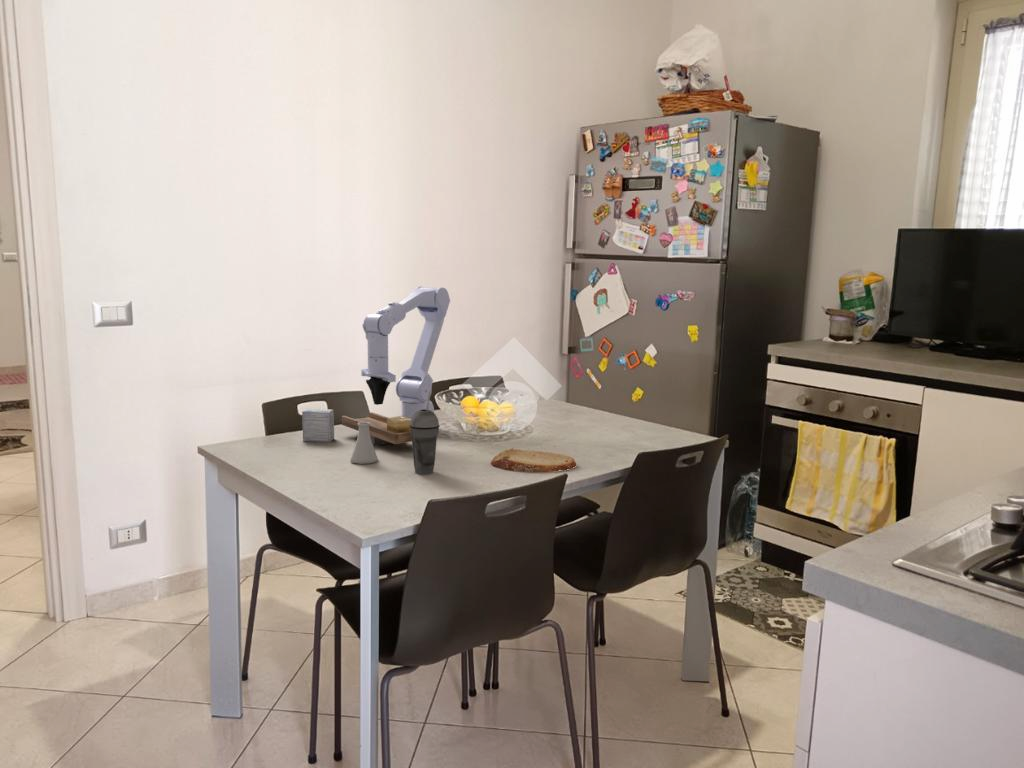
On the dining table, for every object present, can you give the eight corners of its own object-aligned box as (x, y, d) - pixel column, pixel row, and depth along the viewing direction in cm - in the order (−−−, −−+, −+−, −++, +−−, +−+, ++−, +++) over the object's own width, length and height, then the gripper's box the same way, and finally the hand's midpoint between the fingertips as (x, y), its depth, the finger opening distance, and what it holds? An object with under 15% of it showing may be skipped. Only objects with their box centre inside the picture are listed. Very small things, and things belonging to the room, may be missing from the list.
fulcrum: (394, 440, 229) (394, 430, 229) (398, 441, 228) (398, 431, 227) (370, 444, 224) (370, 434, 223) (374, 445, 222) (374, 435, 222)
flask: (347, 464, 202) (346, 425, 200) (353, 457, 209) (352, 419, 207) (375, 465, 202) (375, 426, 200) (380, 458, 209) (380, 420, 207)
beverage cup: (409, 468, 199) (409, 388, 196) (439, 468, 200) (439, 389, 197) (408, 476, 192) (408, 394, 189) (439, 476, 193) (439, 394, 190)
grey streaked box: (334, 439, 229) (334, 409, 228) (329, 442, 225) (329, 412, 224) (307, 437, 230) (307, 408, 229) (302, 441, 226) (301, 411, 224)
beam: (371, 420, 239) (371, 412, 239) (426, 439, 219) (426, 429, 218) (341, 424, 233) (341, 416, 233) (395, 444, 212) (395, 434, 212)
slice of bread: (583, 468, 204) (583, 454, 204) (531, 480, 192) (532, 465, 192) (534, 454, 217) (534, 441, 217) (483, 464, 206) (483, 450, 205)
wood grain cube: (402, 430, 223) (402, 416, 222) (412, 433, 219) (412, 419, 219) (386, 432, 220) (386, 418, 219) (396, 436, 216) (396, 421, 215)
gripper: (351, 354, 228) (352, 401, 230) (380, 360, 218) (380, 409, 220) (373, 353, 233) (373, 399, 235) (401, 358, 222) (402, 406, 225)
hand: (378, 404), depth 228 cm, fingers closed
